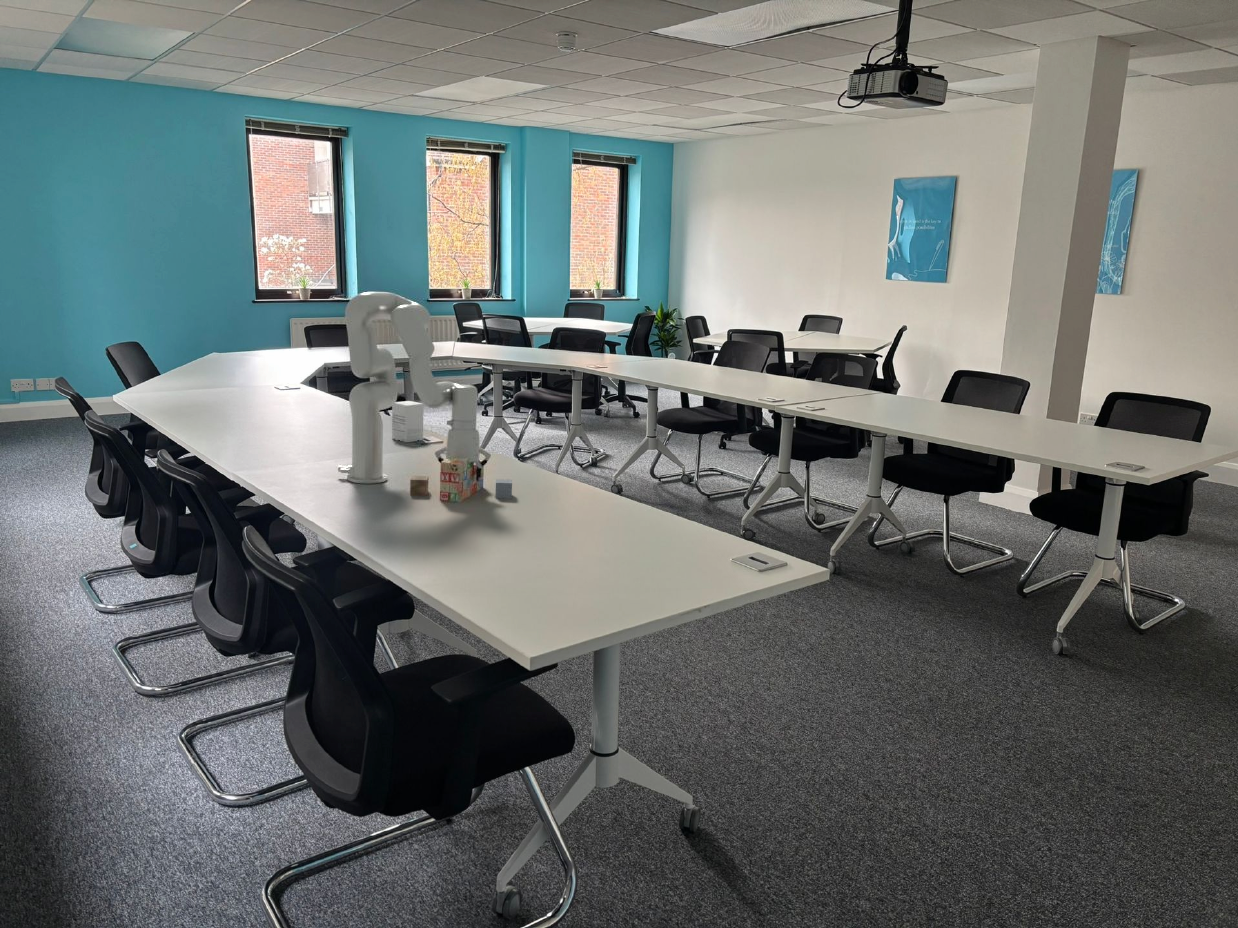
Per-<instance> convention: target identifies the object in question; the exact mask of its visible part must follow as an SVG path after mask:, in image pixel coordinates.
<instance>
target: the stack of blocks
mask: <svg viewBox="0 0 1238 928" xmlns="http://www.w3.org/2000/svg"><path fill="white" fill-rule="evenodd" d="M479 460H480V462H482V461H483V460H484V459H480V458H479ZM469 461H470V459H465V458H448V459H446V458H445V459H444V461H442V462H441V463H440V474H439V478H440V479H439V481H440V482H439V486H440V487H439V501H443V502H451V503H452V502H453V503H458V504H459V503H461V502H462V501H464V500H465V499H468V498H469V497H470V496H471V495H473V494H475V493H476V492H478V491H479V490H481V489H483V488H484V478H485V477H484V475H485V471H484V467H485V465H484V466H483V467H482V468H481V478H479V480H478V481H477V480H476V469H477V465H476V464H475V462H474V463H470V462H469Z"/></svg>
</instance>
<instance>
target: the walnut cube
mask: <svg viewBox="0 0 1238 928" xmlns="http://www.w3.org/2000/svg"><path fill="white" fill-rule="evenodd" d="M409 481H410V483H409V487H410V488H409V496H423V497H425V496H426V497H427V496H428V493H429V476H428V475H411V477H410V480H409Z"/></svg>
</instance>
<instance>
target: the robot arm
mask: <svg viewBox="0 0 1238 928" xmlns="http://www.w3.org/2000/svg"><path fill="white" fill-rule="evenodd" d="M344 312H345V313H344V319H345V325H346V331H347V338H348V339H347V340H348V351H349V352H348V353H349V362H350V363H349V364H350V369H351V372H352V373H353V375H354V376H356V378H357V377H358V378H360V379H368V378H369V381H366V382H361V383H359V384H357V385H355V386H354V387H353V388H352V389H351V390H350V393H349V396H348V401H349V407H350V413H351V414H350V415H351V423H352V424H351V432H352V433H351V437H352V438H351V439H352V440H351V441H352V442H351V443H352V444H351V449H352V450H351V455H352V456H351V462H352V463H351V464H350V465H348V466H345V465H338V467H337V469H338V473H340V474H348V475H347V476H346V480H347V481H349V482H352V483H355V484H370V485H371V484H378V483H383V482H386V481H387V480H388V475H387V474H385V473H383V469H384V468H383V467H384V466H383V465H384V464H383V462H384V461H383V459H384V455H383V454H384V453H383V451H384V423H383V418H382V415H381V411H382V410H387V409H389V408H392V406H393V405H394V403H395V402H397V399H398V382H397V373H396V371H397V370H396V362H395V359H394V357H393V354H392V353H391V351H389V349H388V348H386V347H383V346H378V343H377V335H376V334H377V333H376V331H375V330H376V329H375V328H374V326H373V324H372V321H374V320H389V321H391V324H392V326H393V328H394V330H395V333H396V334H397V337H398V339H399V341H400V342H401V344H402V346H403V349H404V350H405V353H406V355H407V356H408V359H409V363H408V364H409V365H408V366H409V376H410V382H411V384H412V386H413V388H414V391H415V392H416V394H417V396H418V398H419V400H420V402H421V403H423V406H425V407H427V408H428V409H439V408H443V407H448V406H451V419H450V420H446V425H447V426H450V428H448V433H447V438H446V446H444V447H442V448H439V449H438V450H436V451H435V452H434V455H435V457H436V459H437V461H438V462H439V463H440V464H441V462H442V461H444V460H446V459H448V458H465V459H470V461H469V462H470V463H474V462H475V464H476V465H477V469H476V480H477V481H478V480H479V478H481V468H482V467H483V466H484V467H485V465H487V463H488V462H489V460H490V459H491V456H492V455H491V453H490V452H488V451H486V450H484V449H482V448H481V446H480V445H481V444H480V442H481V441H480V431H479V429H477V419H478V417H477V415H478V412H477V411H478V410H477V409H478V388H477V387H476V386H475V385H472V384H460V383H455V382H452V381H439V382H436V379H435V377H434V375H433V373H432V370H431V364H430V362H431V358H432V356H433V353H434V352H435V345H434V343H433V341H432V339H431V337H430V334H429V333H428V331H427V328H428V327H429V326H430V324H431V321H432V318H431V315H430V312H429V311H428V308H426V307H425V306H424V305H421V304H420V303H419V302H418V303H417V302H415V301H413V300H410V299H408V298H405V297H403V296H401V295H398V294H396V293H394V292H386V291H367V292H365V291H364V292H362V293H361V292H360V293H358V294H356V295H355V296H353V297H351V299H350V300H349V301H348V303H347V305H346V308H345V311H344ZM443 453H445V459H444V458H443V457H442V454H443ZM480 454H481V455H483V456H484V459H482V460H483V461H482V462H480V460H481V459H480ZM479 459H480V460H479Z"/></svg>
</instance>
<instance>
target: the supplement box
mask: <svg viewBox="0 0 1238 928" xmlns="http://www.w3.org/2000/svg"><path fill="white" fill-rule="evenodd" d="M391 411H392V412H391V413H392V414H391V416H392V417H391V440H394V439H395V440H394V441H398V440H400V441H399V442H402V441H403V443H411V442H412V443H413V442H418V440H419V441H423V440H424V404H423V402H416V401H413V400H412V401H411V400H405V401H396V402H395V403H394V405H393V406H391Z"/></svg>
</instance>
